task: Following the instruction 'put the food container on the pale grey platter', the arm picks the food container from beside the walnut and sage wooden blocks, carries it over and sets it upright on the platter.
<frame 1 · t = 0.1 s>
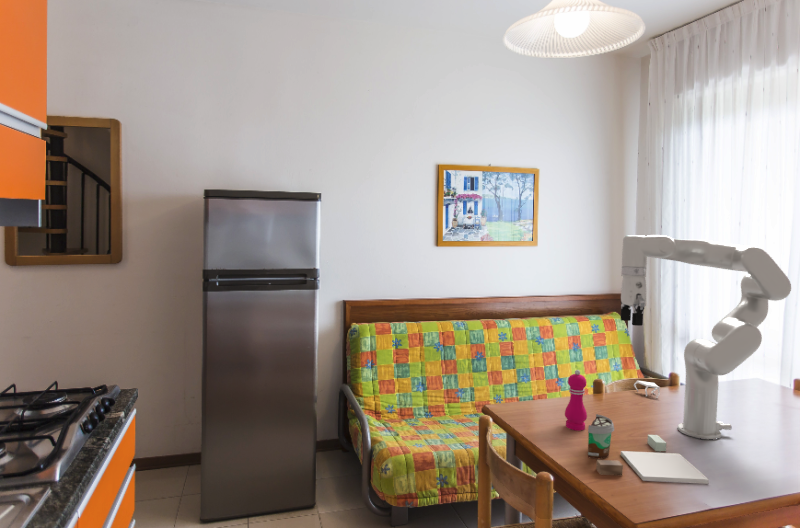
hand: (631, 322, 169), 37 cm above the table, tool pointing down, fingers open, 9 cm apart
sage block: (656, 448, 157), on the table
walnut block: (609, 473, 139), on the table
pepper mill: (575, 427, 172), on the table
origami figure: (646, 394, 211), on the table
food container: (601, 454, 151), on the table
platter: (662, 468, 142), on the table
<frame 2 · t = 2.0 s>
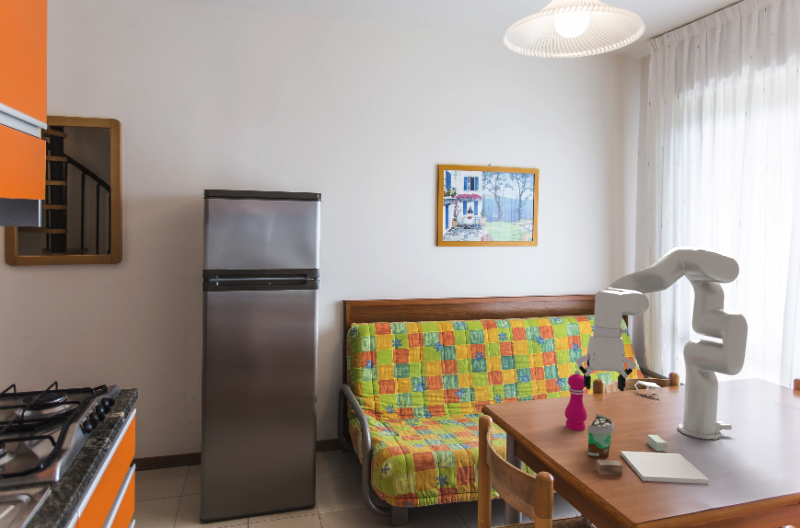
hand: (603, 389, 150), 20 cm above the table, tool pointing down, fingers open, 9 cm apart
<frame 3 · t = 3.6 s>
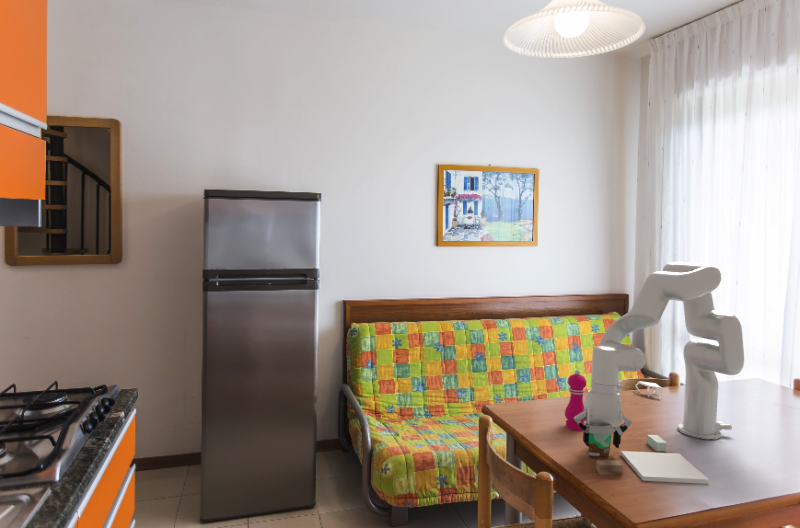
hand: (601, 445, 151), 3 cm above the table, tool pointing down, fingers open, 8 cm apart
food container: (602, 454, 151), on the table, touching gripper
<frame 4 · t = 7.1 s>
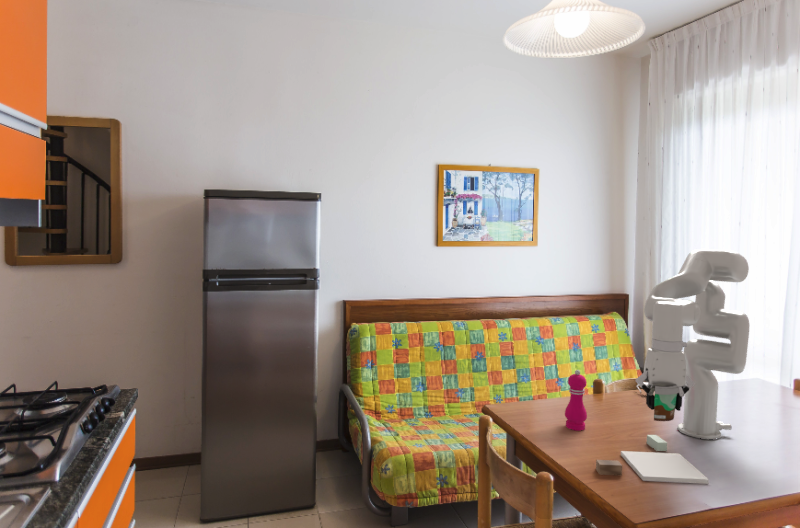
hand: (663, 408, 141), 17 cm above the table, tool pointing down, fingers closed on food container, 6 cm apart
food container: (666, 417, 142), point 15 cm above the table, touching gripper
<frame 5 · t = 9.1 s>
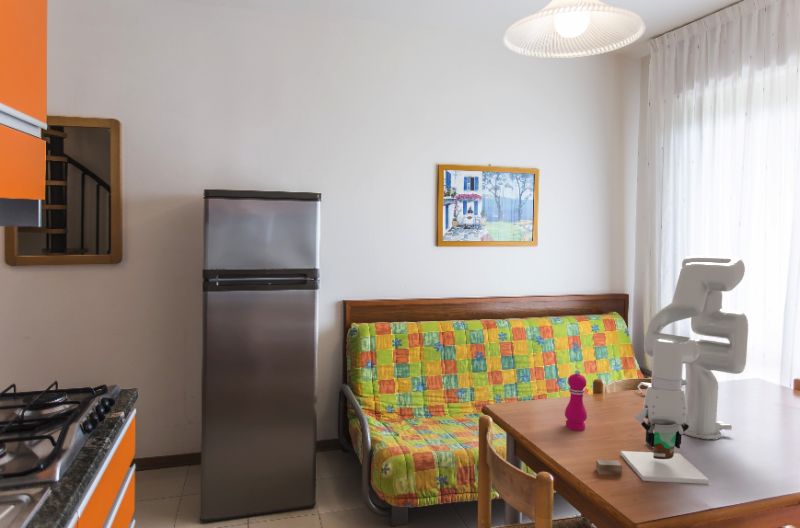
hand: (663, 445, 142), 7 cm above the table, tool pointing down, fingers closed on food container, 6 cm apart
food container: (665, 454, 142), point 4 cm above the table, touching gripper
when the fingers open (5 cm above the table, at t = 10.4 s): food container drops 1 cm, resting on platter.
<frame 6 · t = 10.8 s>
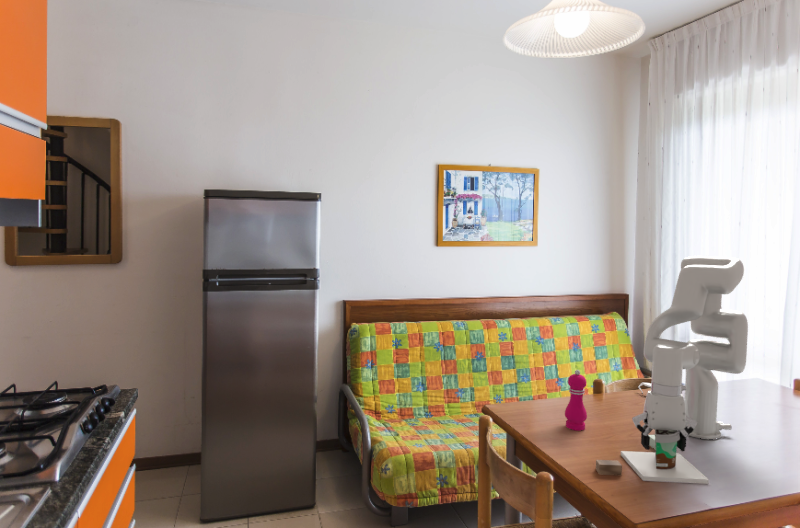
hand: (663, 448, 142), 6 cm above the table, tool pointing down, fingers open, 9 cm apart
food container: (667, 464, 142), point 1 cm above the table, touching gripper, platter
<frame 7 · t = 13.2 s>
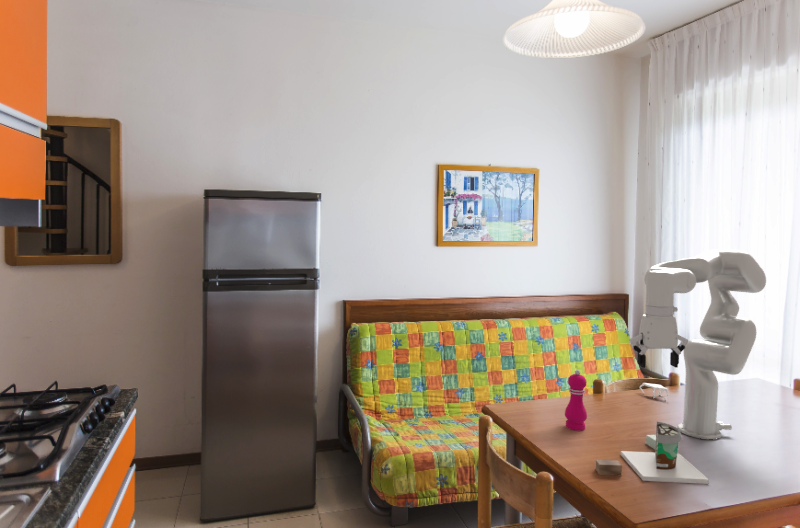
hand: (657, 366, 153), 26 cm above the table, tool pointing down, fingers open, 9 cm apart
food container: (667, 465, 142), point 1 cm above the table, touching platter
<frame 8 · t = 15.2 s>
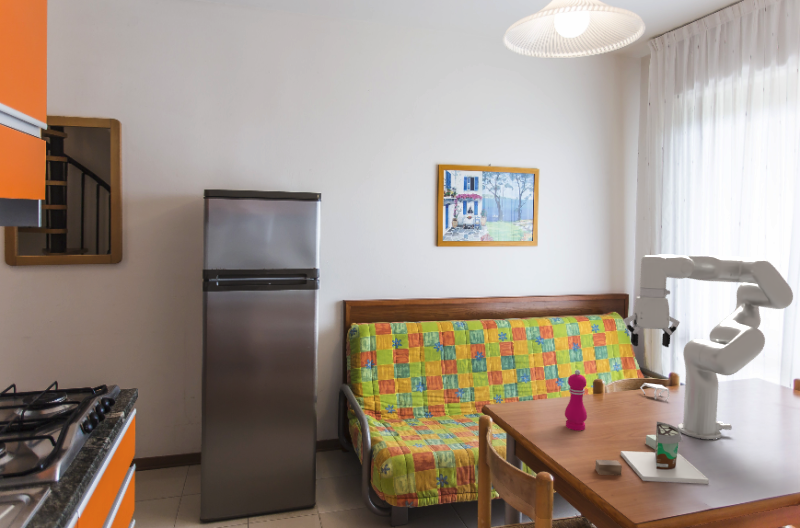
hand: (650, 345, 163), 30 cm above the table, tool pointing down, fingers open, 9 cm apart
at the end: food container inside the target area on the platter (1.7 cm from its centre), point 1.0 cm above the platter's base; food container tilted 0°; walnut block moved 0.4 cm from its start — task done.
